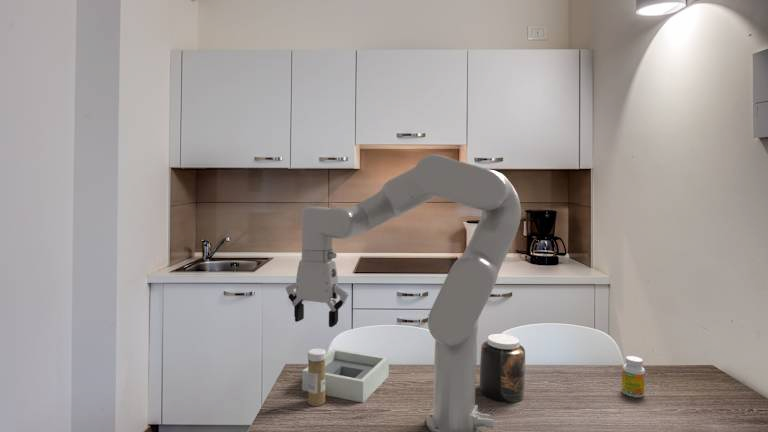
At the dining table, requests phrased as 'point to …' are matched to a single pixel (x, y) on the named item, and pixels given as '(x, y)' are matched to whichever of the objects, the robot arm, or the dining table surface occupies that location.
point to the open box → (351, 374)
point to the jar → (502, 368)
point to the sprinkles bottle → (316, 376)
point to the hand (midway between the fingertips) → (315, 322)
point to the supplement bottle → (633, 377)
